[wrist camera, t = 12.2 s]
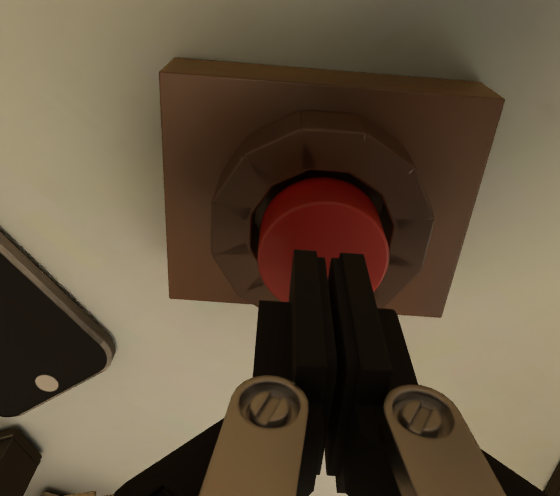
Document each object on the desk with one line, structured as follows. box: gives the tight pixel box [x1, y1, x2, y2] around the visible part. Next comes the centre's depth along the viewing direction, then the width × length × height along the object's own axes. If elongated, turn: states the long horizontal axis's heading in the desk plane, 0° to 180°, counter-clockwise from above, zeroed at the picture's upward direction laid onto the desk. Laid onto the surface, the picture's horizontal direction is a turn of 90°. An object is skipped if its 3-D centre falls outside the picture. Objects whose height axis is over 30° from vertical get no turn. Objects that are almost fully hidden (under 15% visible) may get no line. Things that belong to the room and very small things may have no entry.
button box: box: [159, 58, 505, 318], centre depth 17 cm, size 10×8×4 cm
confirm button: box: [257, 177, 389, 302], centre depth 15 cm, size 4×4×2 cm
